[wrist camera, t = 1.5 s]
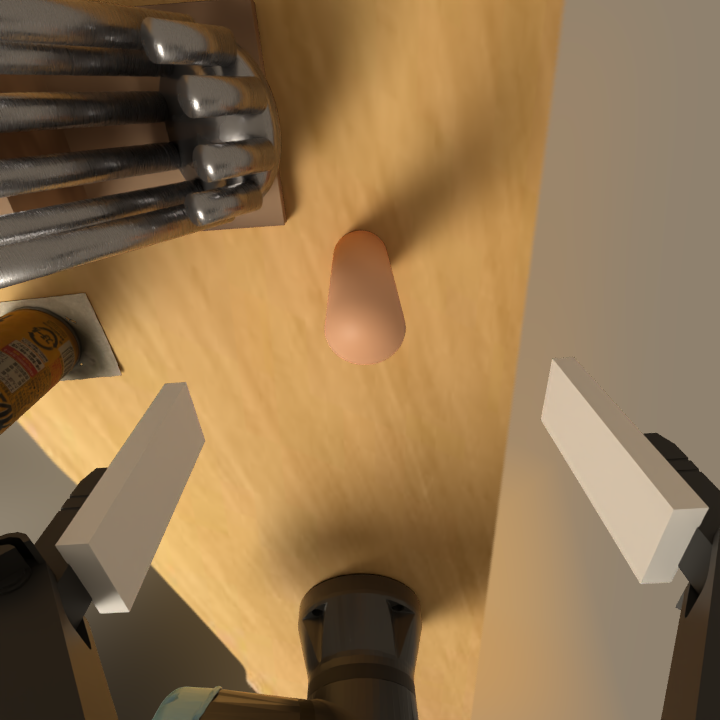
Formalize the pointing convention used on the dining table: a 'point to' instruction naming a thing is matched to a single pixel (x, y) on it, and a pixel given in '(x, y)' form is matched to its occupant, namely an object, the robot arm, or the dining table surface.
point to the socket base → (223, 9)
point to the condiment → (48, 350)
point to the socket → (94, 109)
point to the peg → (363, 301)
